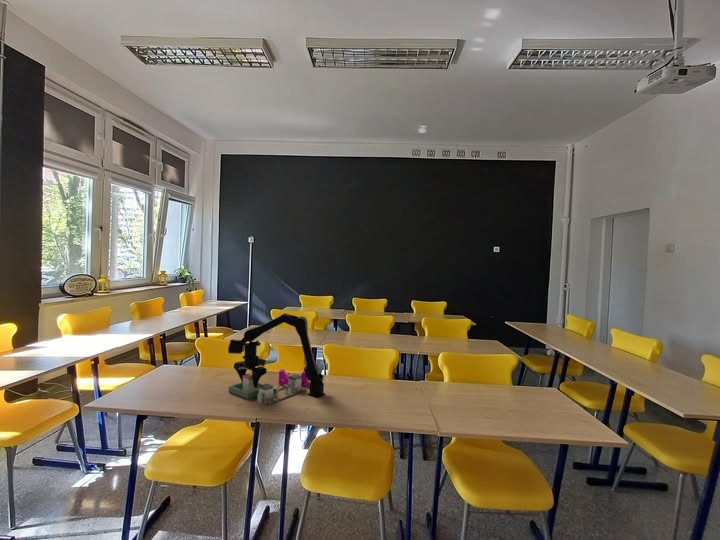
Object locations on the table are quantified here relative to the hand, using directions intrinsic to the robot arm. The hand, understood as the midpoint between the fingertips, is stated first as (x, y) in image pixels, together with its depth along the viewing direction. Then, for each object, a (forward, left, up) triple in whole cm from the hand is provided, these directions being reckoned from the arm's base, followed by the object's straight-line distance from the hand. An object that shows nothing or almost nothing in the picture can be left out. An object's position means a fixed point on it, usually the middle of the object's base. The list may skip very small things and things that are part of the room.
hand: (249, 385), depth 179 cm
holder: (-14, -8, -4) cm, 17 cm away
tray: (0, 0, -4) cm, 4 cm away
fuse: (0, 0, -3) cm, 3 cm away
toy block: (-7, -24, -4) cm, 25 cm away
